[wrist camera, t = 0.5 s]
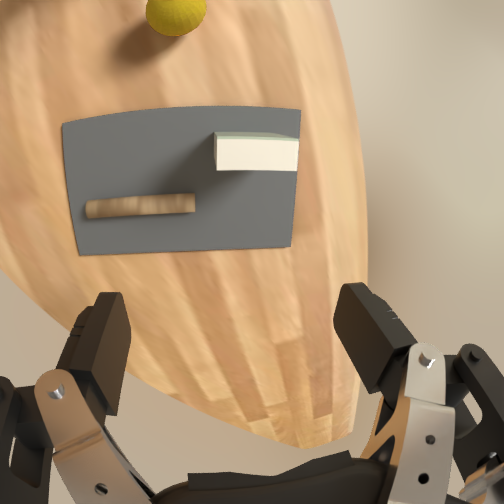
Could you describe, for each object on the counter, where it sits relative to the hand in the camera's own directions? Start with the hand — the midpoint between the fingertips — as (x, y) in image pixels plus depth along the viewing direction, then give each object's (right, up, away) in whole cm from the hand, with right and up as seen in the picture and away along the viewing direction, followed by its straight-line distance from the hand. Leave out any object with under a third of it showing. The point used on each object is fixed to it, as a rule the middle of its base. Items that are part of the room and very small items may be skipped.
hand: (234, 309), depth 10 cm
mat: (-7, +10, +19) cm, 22 cm away
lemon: (-7, +26, +11) cm, 29 cm away
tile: (0, +13, +18) cm, 22 cm away
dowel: (-11, +8, +19) cm, 24 cm away
